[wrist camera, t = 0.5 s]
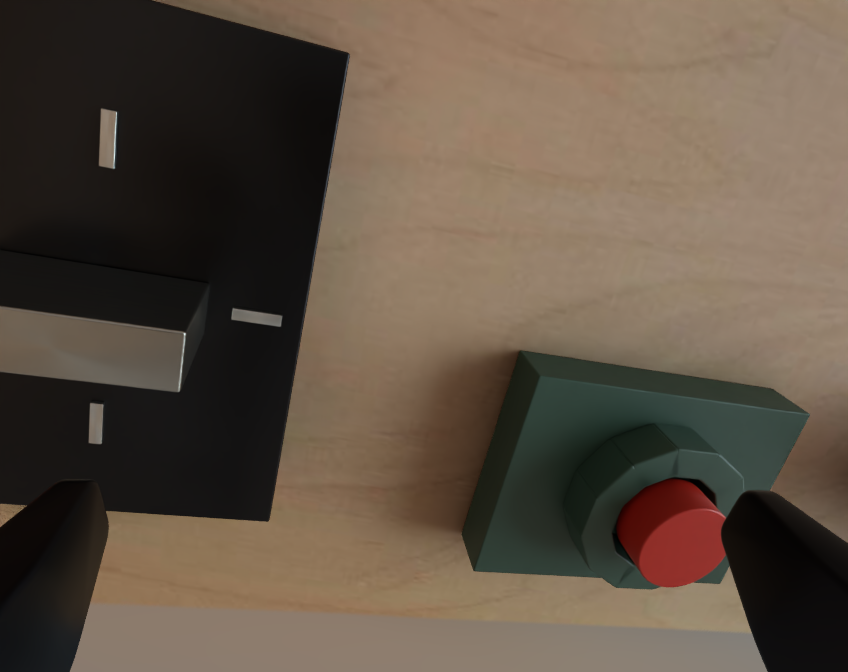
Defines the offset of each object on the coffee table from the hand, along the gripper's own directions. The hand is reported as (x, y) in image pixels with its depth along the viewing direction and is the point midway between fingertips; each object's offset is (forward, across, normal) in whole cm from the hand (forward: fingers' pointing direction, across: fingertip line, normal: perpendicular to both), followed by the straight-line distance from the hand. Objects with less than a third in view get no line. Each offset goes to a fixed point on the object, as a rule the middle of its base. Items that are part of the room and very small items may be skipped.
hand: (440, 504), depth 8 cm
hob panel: (+12, +8, +3) cm, 15 cm away
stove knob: (+9, +8, +3) cm, 13 cm away
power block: (+12, -11, +11) cm, 20 cm away
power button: (+9, -11, +11) cm, 17 cm away
